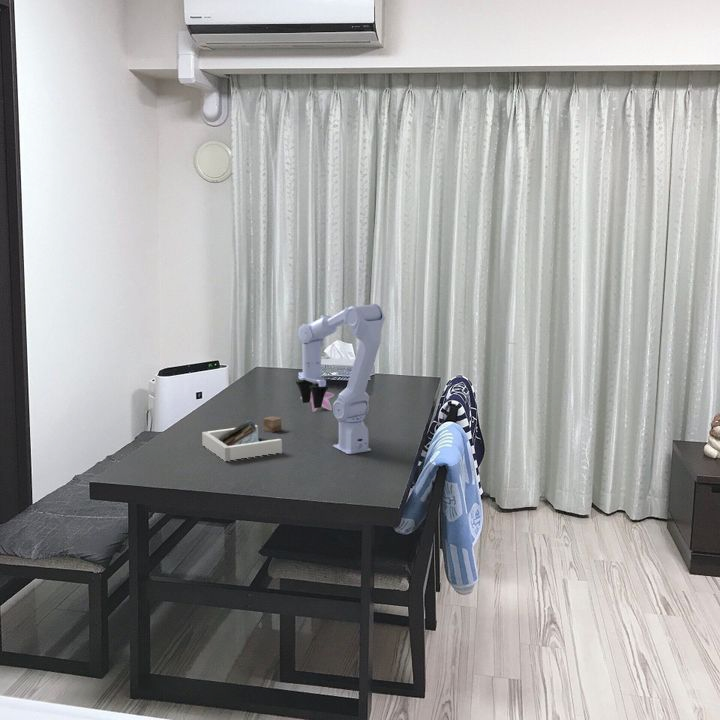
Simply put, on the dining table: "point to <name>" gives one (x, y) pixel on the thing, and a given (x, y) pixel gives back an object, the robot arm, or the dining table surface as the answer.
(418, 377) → the dining table surface
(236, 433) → the chocolate cake
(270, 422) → the walnut block
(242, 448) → the socket bay
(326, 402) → the lily
